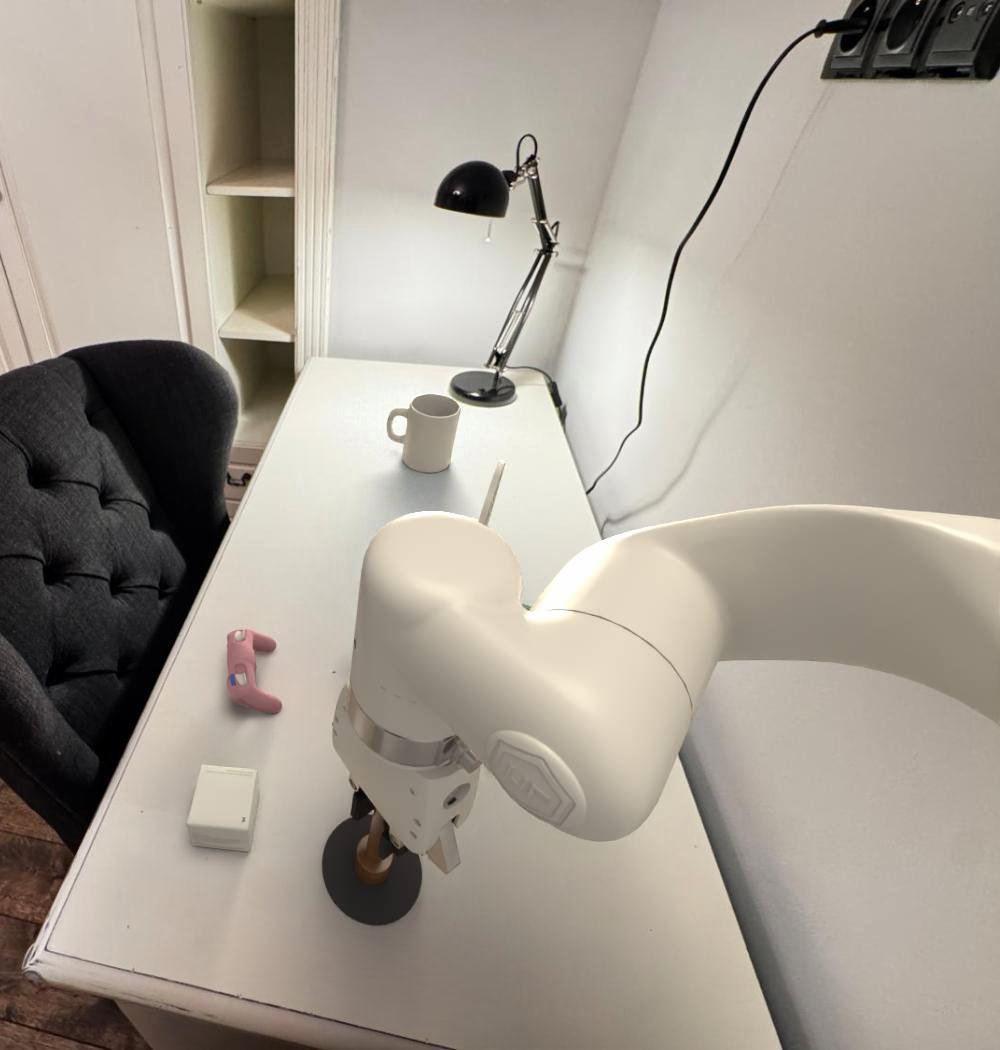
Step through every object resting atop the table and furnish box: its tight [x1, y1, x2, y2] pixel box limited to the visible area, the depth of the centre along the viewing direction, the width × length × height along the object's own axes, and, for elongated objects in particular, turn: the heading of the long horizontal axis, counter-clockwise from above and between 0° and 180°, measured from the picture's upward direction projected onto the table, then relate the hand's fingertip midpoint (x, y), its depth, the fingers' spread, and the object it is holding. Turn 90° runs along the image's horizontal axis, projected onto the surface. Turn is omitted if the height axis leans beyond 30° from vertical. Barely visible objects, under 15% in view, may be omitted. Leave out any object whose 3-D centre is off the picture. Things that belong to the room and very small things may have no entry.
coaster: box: [321, 813, 423, 926], centre depth 52 cm, size 9×9×1 cm
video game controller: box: [226, 628, 283, 714], centre depth 65 cm, size 10×5×7 cm, turn 6°
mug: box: [386, 393, 462, 474], centre depth 99 cm, size 12×8×11 cm
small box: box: [185, 764, 260, 852], centre depth 53 cm, size 6×6×5 cm
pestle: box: [354, 807, 393, 885], centre depth 47 cm, size 3×3×14 cm
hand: (381, 825), depth 46 cm, fingers closed
